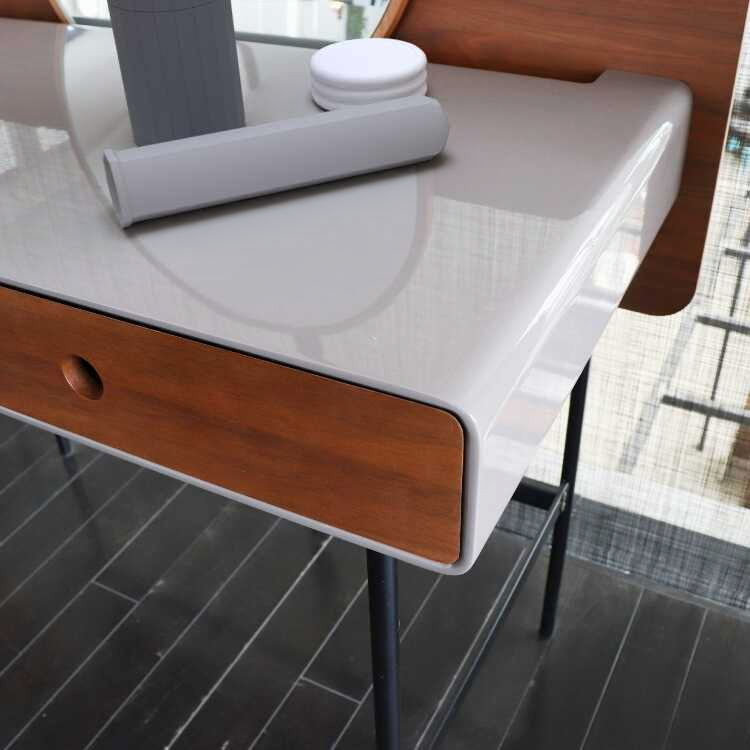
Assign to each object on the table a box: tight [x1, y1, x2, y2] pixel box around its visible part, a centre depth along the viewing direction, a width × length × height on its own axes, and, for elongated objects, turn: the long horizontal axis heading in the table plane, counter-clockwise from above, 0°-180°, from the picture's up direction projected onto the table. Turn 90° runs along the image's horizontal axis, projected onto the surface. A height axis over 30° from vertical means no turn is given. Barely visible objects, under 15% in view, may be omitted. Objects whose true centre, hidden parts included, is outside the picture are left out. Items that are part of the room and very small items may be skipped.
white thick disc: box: [308, 37, 428, 112], centre depth 85 cm, size 10×10×4 cm
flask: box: [106, 0, 247, 147], centre depth 77 cm, size 9×9×14 cm
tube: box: [102, 95, 452, 229], centre depth 71 cm, size 5×5×25 cm
